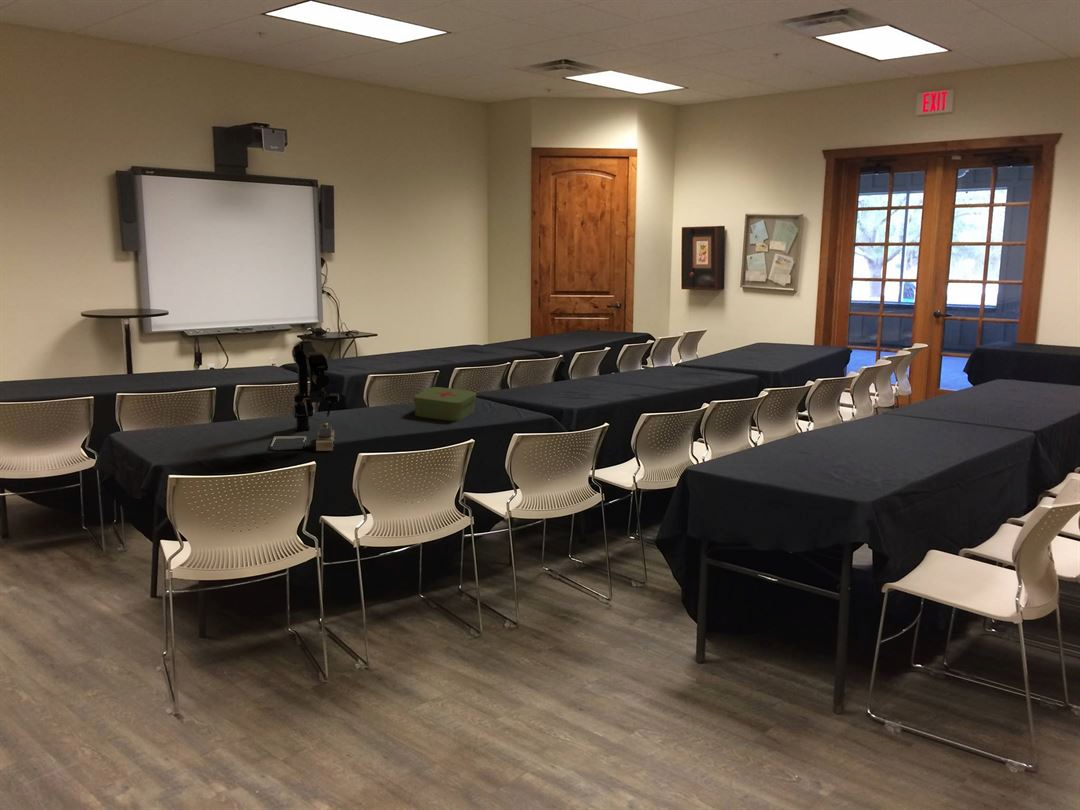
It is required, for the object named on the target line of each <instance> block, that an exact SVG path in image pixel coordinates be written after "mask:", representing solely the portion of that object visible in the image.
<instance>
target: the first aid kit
mask: <svg viewBox="0 0 1080 810" xmlns="http://www.w3.org/2000/svg"><path fill="white" fill-rule="evenodd" d="M476 399H477V393H476V392H475V391H471V390H464V389H457V388H448V387H442V386H441V387H439V386H434V387H429V388H427V389H425V390H424V391H421V392H420V393H417V394H415V395H414V396H413V403H414V404H415V405H414V415H415V416H417V417H420V418H429V419H435V420H443V421H449V422H450V421H451V422H459V421H461V420H463V419H465V418H466V417H468V416H469V415H471V414H472V413H474V412H475V400H476Z"/></svg>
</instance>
